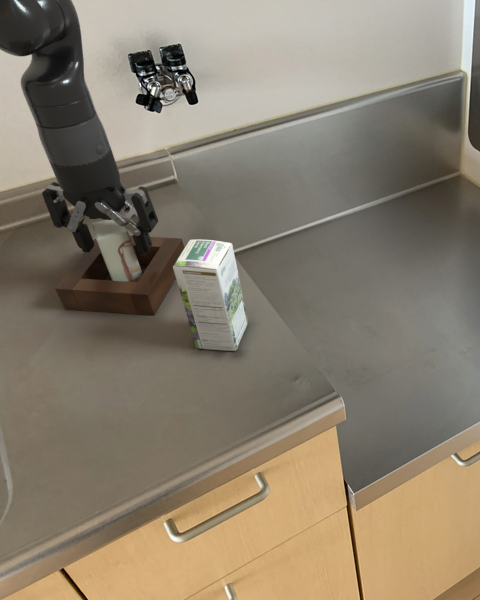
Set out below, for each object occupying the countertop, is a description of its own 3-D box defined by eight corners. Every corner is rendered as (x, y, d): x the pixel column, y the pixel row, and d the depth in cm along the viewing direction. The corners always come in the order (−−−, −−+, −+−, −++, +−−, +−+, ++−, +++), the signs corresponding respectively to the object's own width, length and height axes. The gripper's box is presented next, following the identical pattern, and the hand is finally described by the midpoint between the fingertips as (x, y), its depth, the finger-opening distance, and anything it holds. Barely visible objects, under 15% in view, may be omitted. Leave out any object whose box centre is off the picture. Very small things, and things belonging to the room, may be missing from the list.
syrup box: (210, 320, 87) (186, 237, 77) (250, 323, 87) (232, 240, 77) (196, 349, 83) (169, 265, 73) (238, 352, 82) (217, 268, 73)
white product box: (147, 287, 93) (128, 232, 86) (117, 296, 91) (95, 241, 84) (141, 268, 96) (122, 214, 89) (112, 276, 94) (90, 222, 88)
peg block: (65, 309, 89) (54, 288, 86) (107, 253, 99) (99, 233, 96) (154, 315, 88) (147, 294, 85) (187, 258, 98) (182, 238, 95)
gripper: (143, 138, 81) (173, 238, 92) (41, 133, 82) (82, 233, 93) (119, 166, 75) (153, 269, 86) (9, 161, 76) (57, 263, 87)
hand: (117, 250), depth 89 cm, fingers open, 8 cm apart
